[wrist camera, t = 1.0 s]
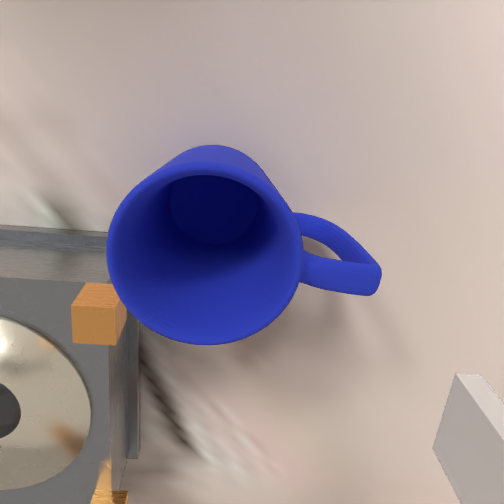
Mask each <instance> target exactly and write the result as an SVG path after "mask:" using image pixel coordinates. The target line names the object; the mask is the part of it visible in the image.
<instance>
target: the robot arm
mask: <svg viewBox="0 0 504 504" xmlns="http://www.w3.org/2000/svg"><path fill="white" fill-rule="evenodd" d="M433 450H434V452H435V454H436V456H437V458H438V460H439V462H440V464H441V466H442V468H443V470H444V472H445V474H446V475H447V477H448V479H449V481H450V483H451V485H452V487H453V489H454V491H455V493H456V495H457V497H458V499H459V501H460V503H461V504H504V403H503V402H502V401H501V400H500V398H499V397H498V396H497V395H496V393H495V392H494V391H493V390H492V388H491V387H490V386H489V384H488V383H487V382H486V381H485V379H484V378H483V377H482V376H481V375H473V374H460V373H455V376H454V379H453V383H452V386H451V389H450V392H449V396H448V399H447V402H446V406H445V409H444V412H443V415H442V419H441V422H440V425H439V429H438V432H437V435H436V438H435V442H434V445H433Z"/></svg>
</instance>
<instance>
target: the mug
mask: <svg viewBox="0 0 504 504" xmlns="http://www.w3.org/2000/svg"><path fill="white" fill-rule="evenodd" d="M301 235H302V236H306V237H309V238H312V239H315V240H317V241H319V242H321V243H323V244H325V245H326V246H327V247H329V248H330V249H331V250H332V251H334V252H335V253H336V254H337V255H338V256H339V257H340V258H341V260H342V261H341V260H335V259H329V258H323V257H319V256H315V255H312V254H310V253H308V252H306V251H305V250H304V249H303V243H302V237H301ZM106 258H107V267H108V272H109V275H110V279H111V282H112V284H113V286H114V289H115V291H116V293H117V295H118V296H119V298H120V300H121V301H122V303H123V304H124V305H125V307H126V308H127V309H128V310H129V311H130V312H131V313H132V314H133V316H134V317H135V318H137V319H138V320H139V321H140V322H141V323H142V324H144V325H145V326H147V327H148V328H150V329H151V330H153V331H155V332H156V333H158V334H160V335H162V336H165V337H167V338H170V339H172V340H176V341H179V342H183V343H188V344H195V345H219V344H226V343H231V342H235V341H238V340H241V339H244V338H246V337H249V336H251V335H253V334H255V333H257V332H258V331H260V330H262V329H263V328H265V327H266V326H268V325H269V324H270V323H271V322H273V321H274V320H275V319H276V318H277V317H278V316H279V315H280V314H281V313H282V311H283V310H284V309H285V308H286V306H287V305H288V304H289V302H290V300H291V299H292V297H293V295H294V293H295V291H296V289H297V287H298V284H299V282H301V283H305V284H308V285H310V286H313V287H317V288H321V289H324V290H330V291H336V292H341V293H347V294H355V295H363V296H369V295H372V294H374V293H375V292H376V290H377V289H378V286H379V284H380V280H381V276H382V272H381V268H380V266H379V265H378V263H377V262H376V261H375V260H374V259H373V258H372V257H371V256H370V254H369V253H368V252H367V251H366V250H365V249H364V248H363V247H362V246H361V245H360V244H359V243H358V242H357V241H356V240H355V239H354V238H353V237H351V236H350V235H349V234H348V233H347V232H346V231H344V230H343V229H341V228H340V227H339V226H337V225H335V224H333V223H331V222H329V221H327V220H325V219H322V218H319V217H316V216H312V215H308V214H303V213H292V211H291V209H290V208H289V206H288V205H287V203H286V202H285V201H284V199H283V198H282V196H281V195H280V194H279V192H278V191H277V189H276V188H275V187H274V185H273V184H272V183H271V181H270V180H269V178H268V177H267V176H266V174H265V173H264V171H263V170H262V169H261V168H260V167H259V165H258V164H257V163H256V162H255V161H253V160H252V159H251V158H250V157H248V156H247V155H245V154H244V153H242V152H240V151H238V150H235V149H233V148H230V147H226V146H220V145H205V146H199V147H196V148H192V149H190V150H187V151H185V152H183V153H181V154H180V155H178V156H177V157H175V158H174V159H172V160H171V161H170V162H168V163H167V164H165V165H164V166H163V167H161V168H160V169H158V170H157V171H156V172H154V173H153V174H151V175H150V176H149V177H147V178H146V179H144V180H143V181H142V182H140V183H139V184H138V185H137V186H136V187H135V188H134V189H132V190H131V192H130V193H129V194H128V195H127V196H126V197H125V199H124V200H123V201H122V203H121V204H120V206H119V207H118V209H117V211H116V212H115V215H114V217H113V219H112V222H111V225H110V228H109V232H108V237H107V243H106Z"/></svg>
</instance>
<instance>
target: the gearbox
mask: <svg viewBox="0 0 504 504" xmlns="http://www.w3.org/2000/svg"><path fill="white" fill-rule="evenodd" d="M107 237H108V232H95V231H81V230H66V229H52V228H38V227H24V226H10V225H0V504H128V491H119V487H120V484H121V480H122V476H123V473H124V469H125V466H126V462H127V458H130V459H138V455H139V448H140V321H139V320H138V319H137V318H135V317H134V316H133V314H132V313H131V312H130V311H129V310H128V309H127V308H126V307H125V305H124V304H123V303H122V301H121V300H120V298H119V296H118V295H117V293H116V291H115V289H114V286H113V284H112V282H111V279H110V275H109V272H108V267H107V258H106V243H107Z"/></svg>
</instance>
